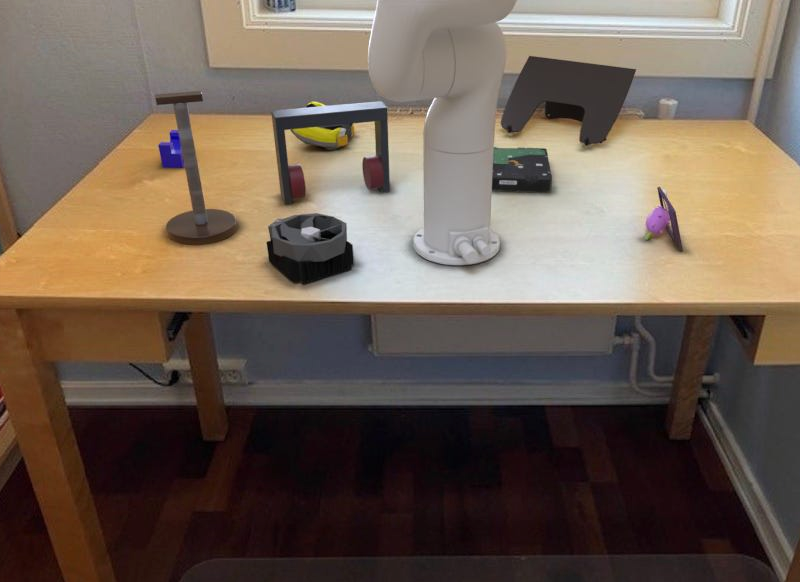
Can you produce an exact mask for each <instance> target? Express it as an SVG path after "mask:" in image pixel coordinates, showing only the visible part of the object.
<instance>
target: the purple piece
mask: <svg viewBox="0 0 800 582" xmlns="http://www.w3.org/2000/svg"><path fill="white" fill-rule="evenodd" d="M656 187H657V188H656V189H657V194H658V200H659V203H660V205H657V206H656V205H654V209H653V210H651V212H650V213H649V214H648V216H647V217H646V220H645V228H646V230H647V232H648V233H647V235H646V236H645V238H644V239H645V241H649V239H650V238H651V237H652V236H653V235H654V236H655V235H659V234H661V235H662V234H663V231H664V230H665V229H666V230H667V232H668V233H669V235H670V237H671V238H672V240H673V242H674V243H675V246H676V247H677V248H678V250H679V252H682V251H684V250H683V244H682V243H683V242H682V238H681V233H680V228H679V223H678V217H677V212H676V209H675V208H674V206H673V205H672V203H671V202H670V200H669V198H668V197H667V196H668V192H667V190H666V189H663V188H661V186H656ZM670 226H671V227H670Z"/></svg>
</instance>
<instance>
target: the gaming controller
mask: <svg viewBox="0 0 800 582" xmlns="http://www.w3.org/2000/svg"><path fill="white" fill-rule="evenodd" d="M320 106H326V105H325V104H324V103H321V102H318V101H311V102H309V103H307V104H306V106H305V108H309V107H320ZM354 124H355V123H352V124H342V125H331V126H321V127H310V128H300V129H289V130H290V132H291V133H292V135H293V136H295V138H296V139H298V140H299V141H301V142H302V143H303V144H305V145H308V146H316V147H323V148H324V150H326V151H336V150H337V149H338V148H341V147H344V146H346V145H349V141H350V139H351V138H352V136H354V135H355V125H354Z"/></svg>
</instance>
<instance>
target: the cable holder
mask: <svg viewBox="0 0 800 582" xmlns="http://www.w3.org/2000/svg"><path fill="white" fill-rule="evenodd" d="M157 147H158V151H159V156H160V161H161V166H162V168H173V169H174V168H175V169H177V168H178V169H183V168H185V166H184V160H183V155H182V149H181V144H180V138H179V133H178V129H171V130H170V131H169V142H168V141H160V142H159V143H158V145H157Z"/></svg>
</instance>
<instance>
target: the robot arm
mask: <svg viewBox="0 0 800 582" xmlns="http://www.w3.org/2000/svg"><path fill="white" fill-rule="evenodd" d="M517 2H518V0H377V1H376V7H375V12H374V16H373V21H372V26H371V31H370V37H369V42H368V51H367V69H368V75H369V78H370V82H371V84H372V86H373V88H374V90H375V92H376V93H377V94H378V95H379V96H380V97H382V98H383V99H385V100H387V101H390V102H394V103H405V102H406V103H407V102H415V101H416V102H417V101H423V100H430V99H433V100H432V103H431V104H430V106H429V109H428V110H427V113H426V116H425V119H424V124H423V131H422V132H423V134H422V135H423V136H422V139H423V145H422V146H423V152H422V153H423V154H422V155H423V156H422V157H423V227H421V228H420V229H419V230H418V231H416V232H415V234H414V235H413V239H412V247H413V250H414V251H415V252H416V253H417V255H418V256H419V257H421V258H423V259H425V260H428V261H429V262H433V263H436V264H441V265H445V266H447V265H448V266H471V265H475V264H480V263H483V262H487V261H488V260H490V259H492V258H493V257H494V256H496V255H497V254H498V253H499V251H500V248H501V239H500V236H499V235H498V233H497V232H496V231H494V230H493V229H491V213H492V194H493V193H492V192H493V190H492V174H493V152H494V147H495V131H496V129H495V128H496V117H497V107H498V100H499V94H500V90H501V85H502V81H503V77H504V73H505V68H506V63H507V43H506V38H505V35H504V32H503V30H502V29H501V27H500V26H499V24H498V23H497V22H501V21H502V20H504V19H505V18H507V17H508V16H509V15H510V13H511V12H512V11H513V9H514V8H515V5H516V3H517Z"/></svg>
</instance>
